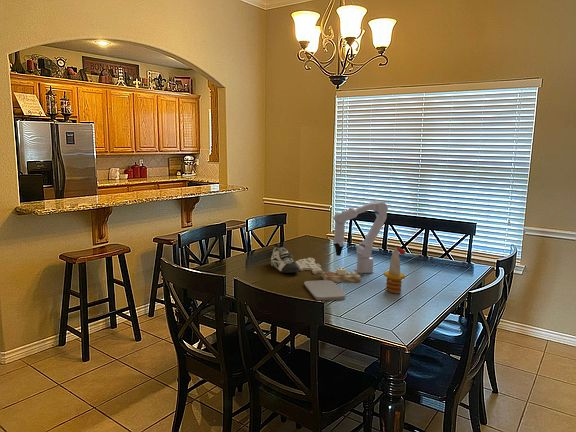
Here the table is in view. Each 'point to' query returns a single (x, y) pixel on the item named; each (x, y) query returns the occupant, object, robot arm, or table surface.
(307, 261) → the decorative sign
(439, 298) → the table surface
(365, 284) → the table surface
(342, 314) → the table surface
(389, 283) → the toy
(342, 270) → the cream studded block
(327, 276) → the button board
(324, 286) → the tablet
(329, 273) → the button
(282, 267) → the training shoe
